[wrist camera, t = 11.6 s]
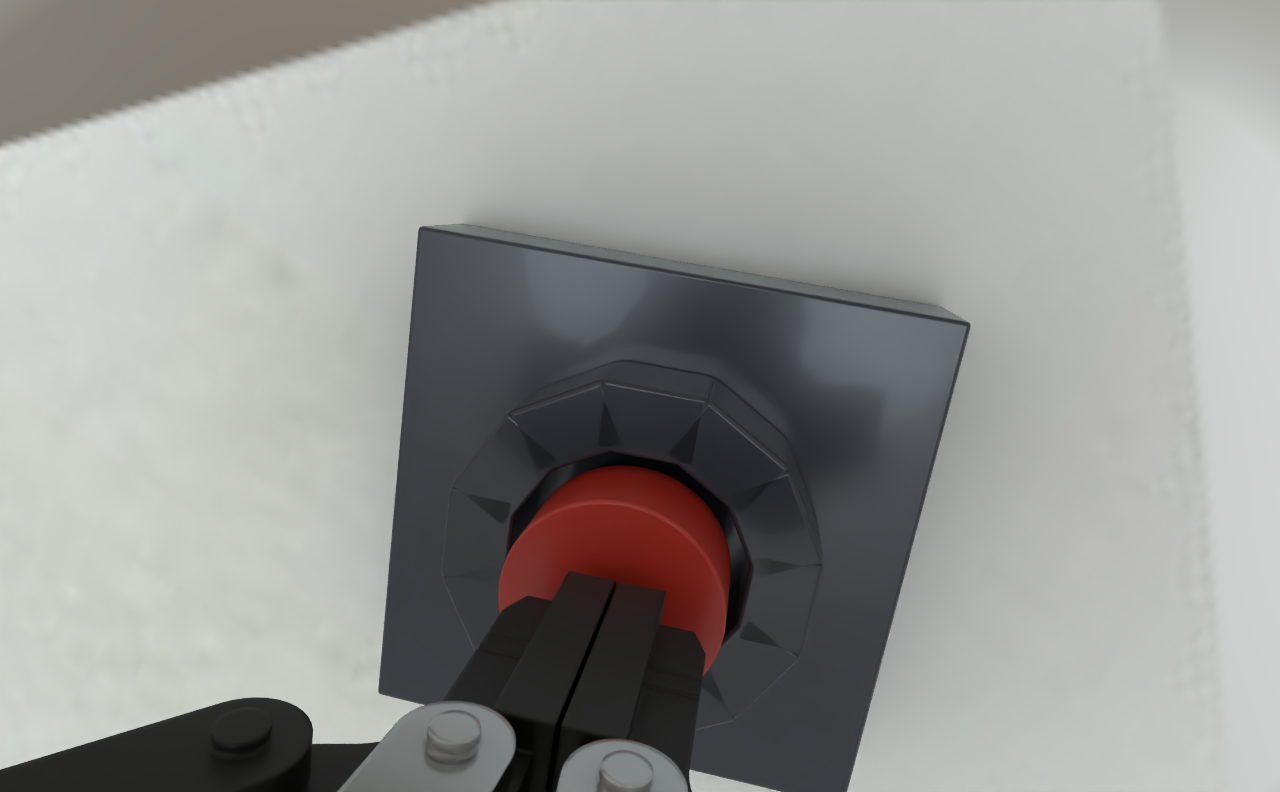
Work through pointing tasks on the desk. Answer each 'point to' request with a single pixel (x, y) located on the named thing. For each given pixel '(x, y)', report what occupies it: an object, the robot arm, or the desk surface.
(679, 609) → the button
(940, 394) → the button block
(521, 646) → the robot arm
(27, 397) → the desk surface
